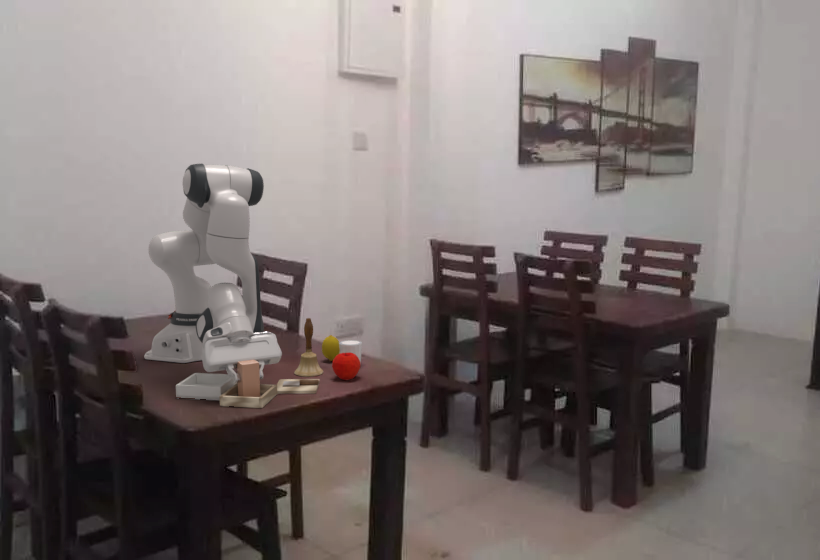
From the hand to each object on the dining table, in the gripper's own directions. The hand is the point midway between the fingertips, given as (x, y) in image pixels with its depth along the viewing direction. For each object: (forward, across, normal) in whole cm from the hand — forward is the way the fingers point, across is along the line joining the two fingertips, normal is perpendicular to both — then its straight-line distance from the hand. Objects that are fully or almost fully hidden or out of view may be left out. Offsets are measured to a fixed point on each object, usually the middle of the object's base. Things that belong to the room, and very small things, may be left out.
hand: (249, 380), depth 212 cm
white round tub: (-10, -37, -18) cm, 42 cm away
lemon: (-15, -34, -23) cm, 44 cm away
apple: (-1, -30, -9) cm, 31 cm away
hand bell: (-8, -23, -16) cm, 30 cm away
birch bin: (+3, 0, -4) cm, 5 cm away
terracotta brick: (+3, 0, -4) cm, 5 cm away
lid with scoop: (0, -15, -7) cm, 17 cm away
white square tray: (-5, +8, -12) cm, 15 cm away
